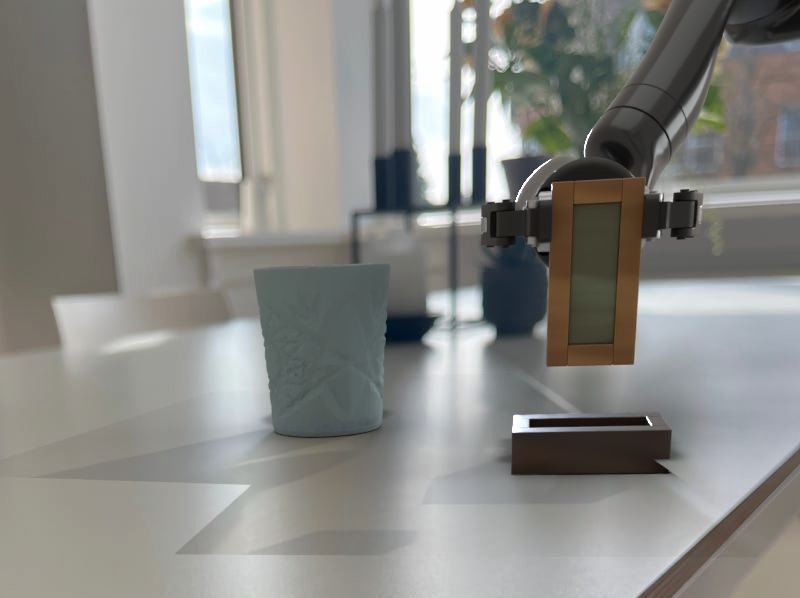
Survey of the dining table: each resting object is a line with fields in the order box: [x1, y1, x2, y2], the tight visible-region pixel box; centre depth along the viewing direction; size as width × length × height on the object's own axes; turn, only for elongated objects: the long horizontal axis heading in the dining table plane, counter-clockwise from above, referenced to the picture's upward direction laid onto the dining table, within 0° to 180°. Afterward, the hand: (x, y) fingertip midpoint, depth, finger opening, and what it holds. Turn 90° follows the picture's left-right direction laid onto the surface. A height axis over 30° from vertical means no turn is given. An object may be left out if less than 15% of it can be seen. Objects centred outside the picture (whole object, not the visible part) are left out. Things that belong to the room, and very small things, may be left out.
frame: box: [545, 177, 646, 368], centre depth 60 cm, size 2×5×10 cm, turn 79°
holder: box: [510, 411, 673, 475], centre depth 63 cm, size 6×9×2 cm
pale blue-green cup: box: [252, 262, 391, 438], centre depth 79 cm, size 10×10×12 cm
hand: (597, 218), depth 56 cm, fingers closed on frame, 5 cm apart
